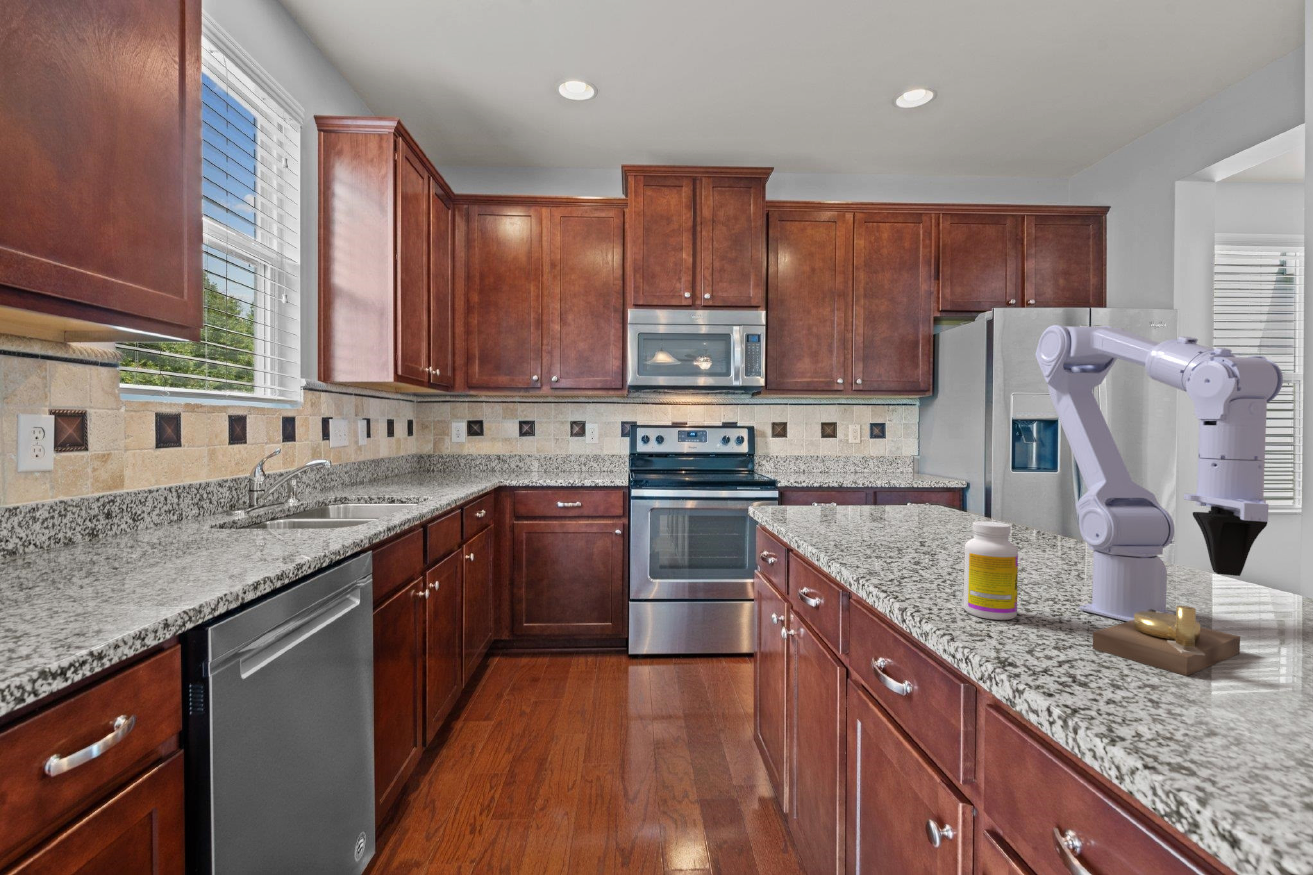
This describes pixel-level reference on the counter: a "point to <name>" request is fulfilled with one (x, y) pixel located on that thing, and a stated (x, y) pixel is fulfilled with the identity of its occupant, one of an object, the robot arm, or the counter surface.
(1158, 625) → the gold door handle
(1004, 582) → the supplement bottle
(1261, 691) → the counter surface
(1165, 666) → the stand
